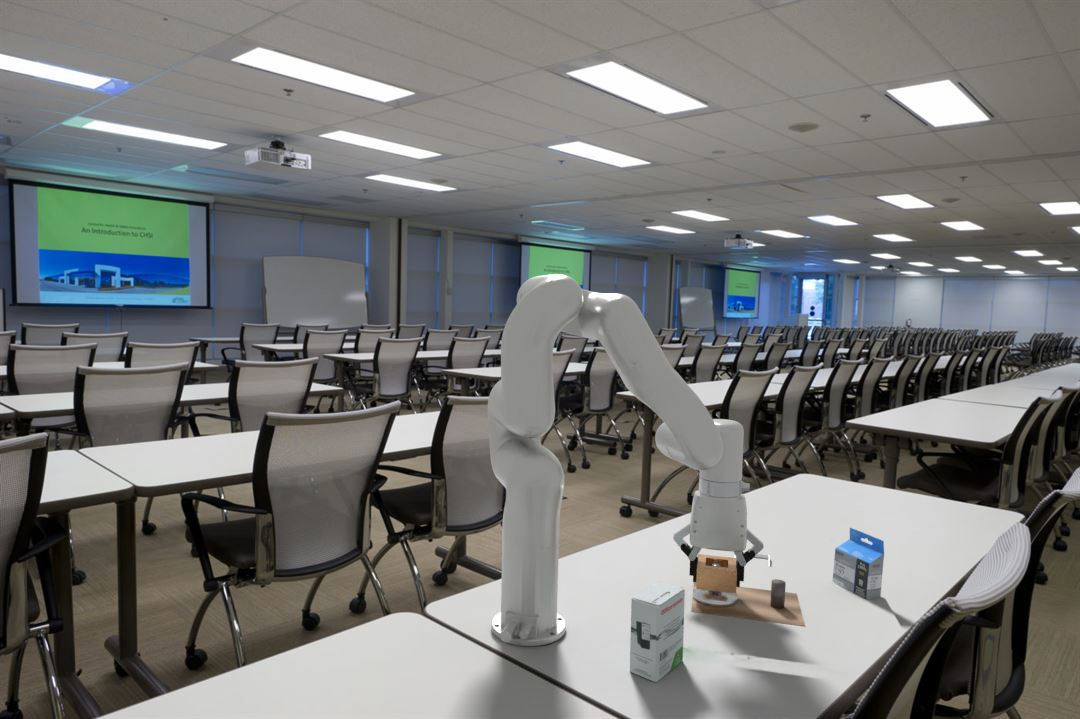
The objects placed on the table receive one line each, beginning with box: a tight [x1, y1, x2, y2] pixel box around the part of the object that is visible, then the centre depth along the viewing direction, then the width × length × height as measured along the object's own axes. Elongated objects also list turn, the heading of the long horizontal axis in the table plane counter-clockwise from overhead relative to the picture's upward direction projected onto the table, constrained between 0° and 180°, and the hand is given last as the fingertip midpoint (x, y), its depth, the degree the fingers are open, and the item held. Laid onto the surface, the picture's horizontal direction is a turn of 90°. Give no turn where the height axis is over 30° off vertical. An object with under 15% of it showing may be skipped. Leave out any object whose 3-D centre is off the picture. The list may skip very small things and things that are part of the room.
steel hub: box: [692, 564, 737, 608], centre depth 130 cm, size 8×8×6 cm
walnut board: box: [690, 578, 806, 627], centre depth 129 cm, size 14×19×6 cm
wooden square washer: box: [696, 553, 737, 594], centre depth 130 cm, size 7×7×4 cm
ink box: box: [629, 581, 686, 683], centre depth 108 cm, size 9×5×12 cm, turn 141°
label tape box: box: [832, 527, 885, 600], centre depth 136 cm, size 9×4×12 cm, turn 21°
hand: (716, 581), depth 130 cm, fingers closed on wooden square washer, 7 cm apart
